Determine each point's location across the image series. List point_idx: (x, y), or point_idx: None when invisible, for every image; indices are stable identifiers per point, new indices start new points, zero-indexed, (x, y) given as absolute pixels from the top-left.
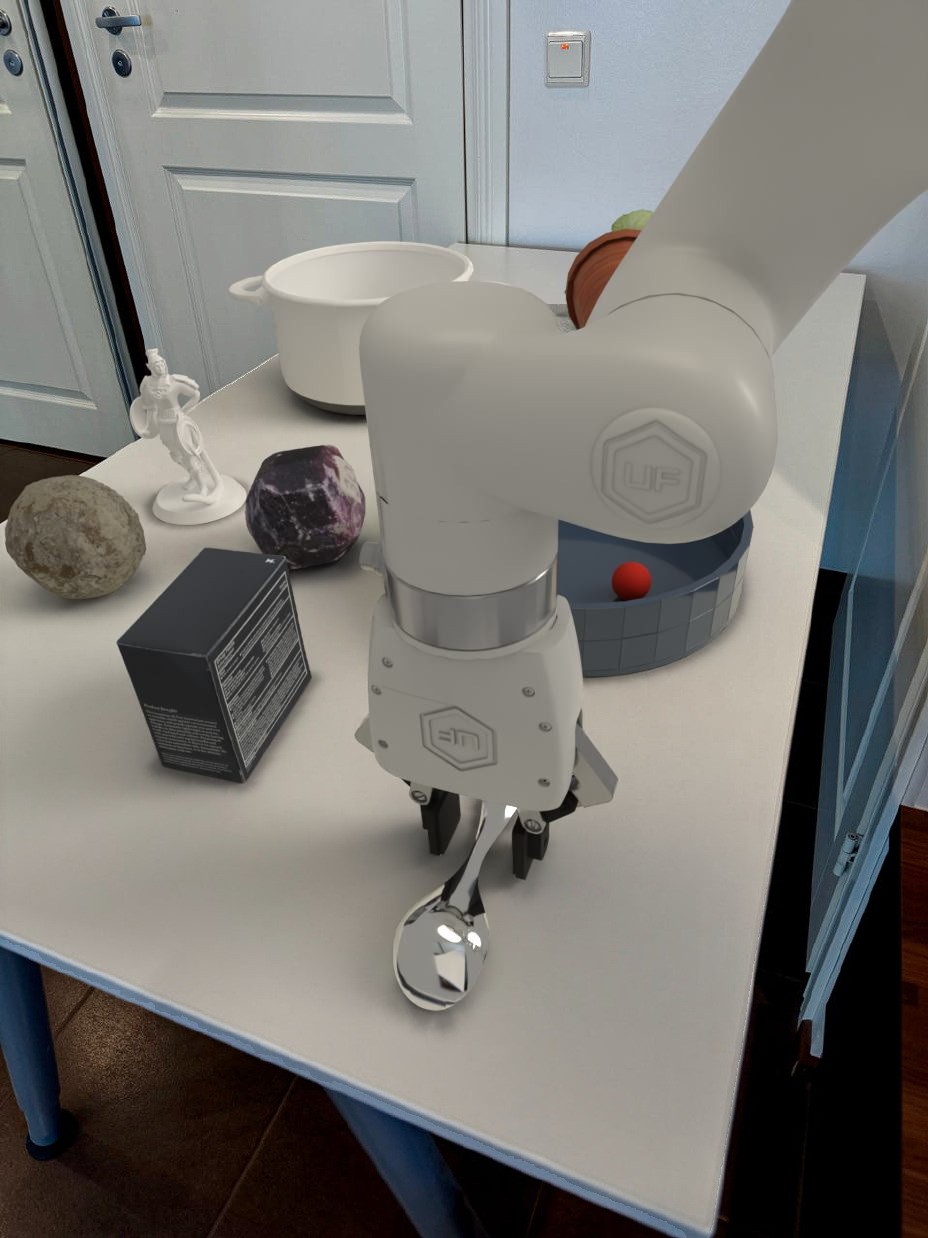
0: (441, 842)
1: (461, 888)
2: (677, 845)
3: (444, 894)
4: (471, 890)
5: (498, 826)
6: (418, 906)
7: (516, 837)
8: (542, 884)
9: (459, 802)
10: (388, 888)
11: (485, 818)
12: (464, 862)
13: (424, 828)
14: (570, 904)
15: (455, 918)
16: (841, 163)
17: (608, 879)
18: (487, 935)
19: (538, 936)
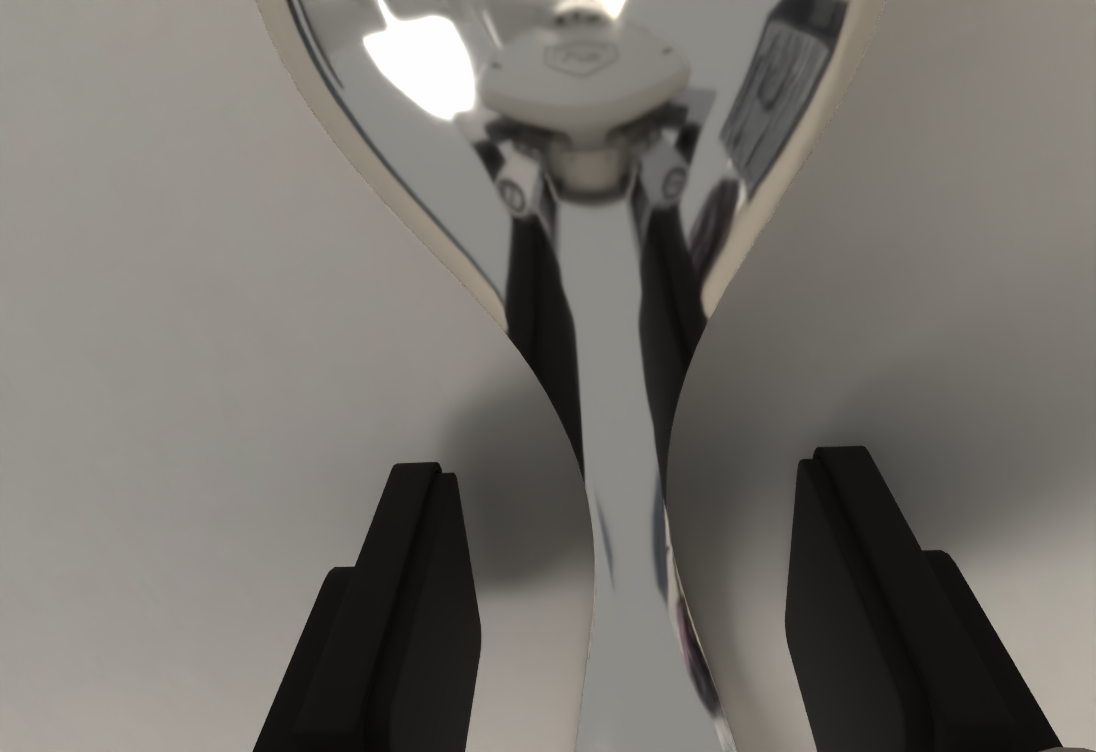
0: (825, 518)
1: (581, 293)
2: (34, 721)
3: (662, 203)
4: (529, 309)
5: (608, 643)
6: (816, 43)
7: (348, 699)
8: (348, 468)
9: (808, 717)
10: (1021, 213)
11: (676, 659)
12: (666, 456)
13: (942, 559)
14: (204, 426)
15: (480, 19)
16: None
17: (145, 559)
18: (280, 45)
19: (234, 245)
